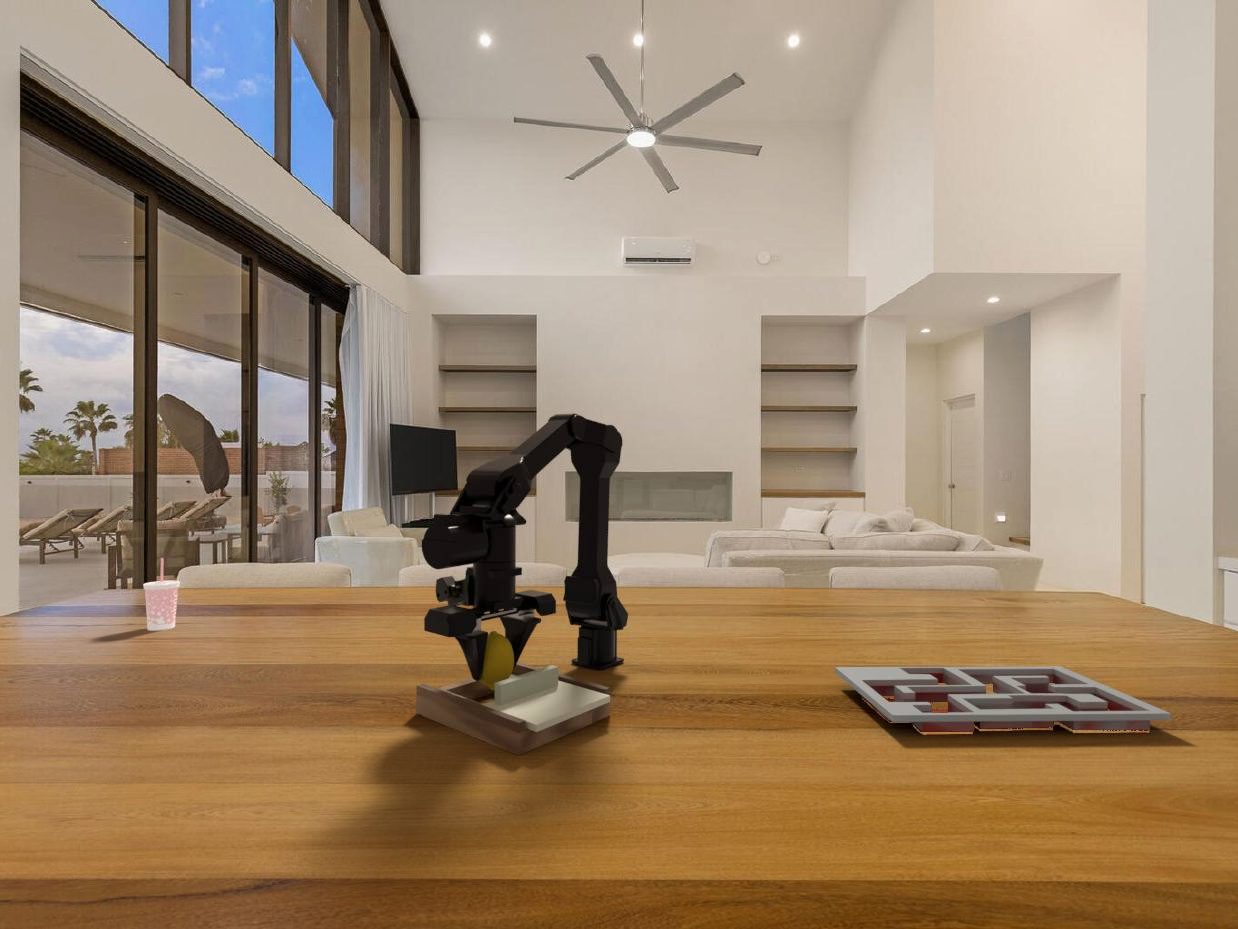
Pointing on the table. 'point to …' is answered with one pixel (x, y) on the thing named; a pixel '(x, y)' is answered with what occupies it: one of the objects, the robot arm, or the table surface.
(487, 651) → the lemon
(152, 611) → the beverage cup
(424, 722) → the table surface
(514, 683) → the cover
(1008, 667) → the maze game
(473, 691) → the sliding lid box
